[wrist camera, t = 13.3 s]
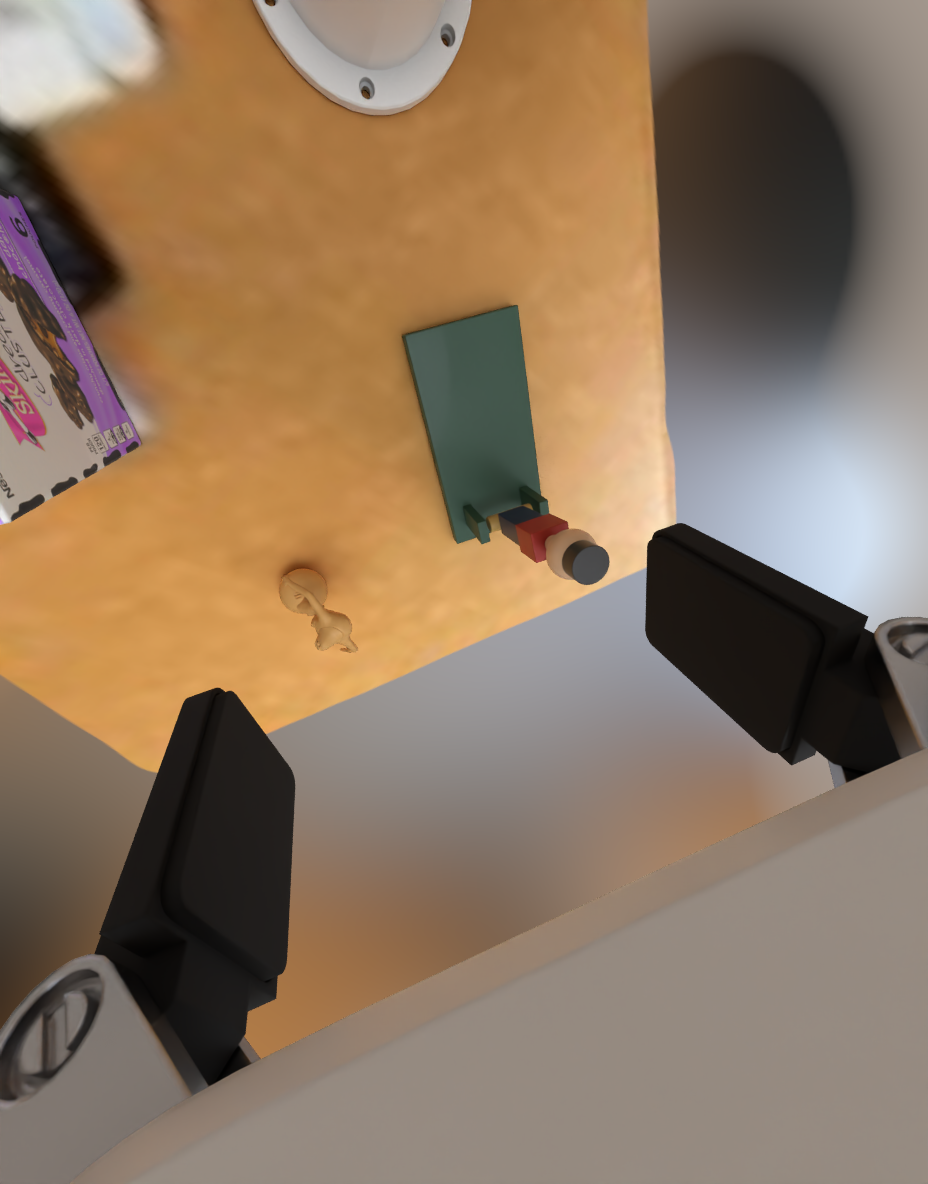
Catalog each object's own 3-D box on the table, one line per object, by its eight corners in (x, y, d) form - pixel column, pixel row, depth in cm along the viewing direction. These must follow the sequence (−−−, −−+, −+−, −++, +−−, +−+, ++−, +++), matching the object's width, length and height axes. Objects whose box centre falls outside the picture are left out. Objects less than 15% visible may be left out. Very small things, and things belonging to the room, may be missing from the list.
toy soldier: (555, 551, 24) (564, 601, 25) (618, 529, 25) (624, 579, 26) (481, 505, 37) (490, 540, 39) (524, 491, 38) (531, 526, 39)
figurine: (254, 556, 37) (232, 635, 27) (315, 522, 37) (315, 589, 28) (312, 622, 42) (311, 709, 32) (366, 591, 42) (382, 669, 32)
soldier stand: (401, 335, 32) (415, 335, 28) (512, 305, 34) (543, 300, 29) (454, 539, 42) (471, 564, 37) (538, 511, 43) (565, 531, 39)
